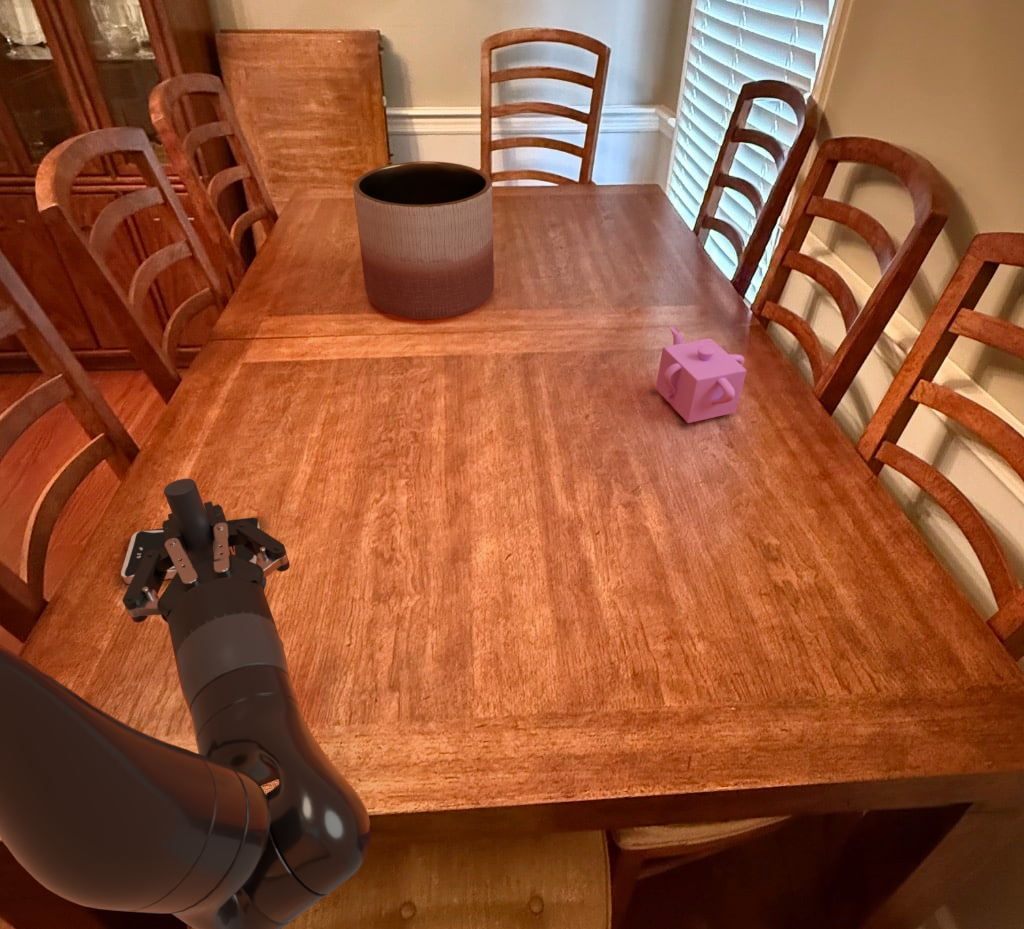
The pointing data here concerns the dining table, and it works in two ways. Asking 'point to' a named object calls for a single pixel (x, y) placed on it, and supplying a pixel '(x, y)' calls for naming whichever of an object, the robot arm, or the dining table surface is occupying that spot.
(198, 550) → the dark grey cylinder
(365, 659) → the dining table surface
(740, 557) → the dining table surface
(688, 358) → the teapot
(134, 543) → the smartphone
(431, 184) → the planter
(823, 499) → the dining table surface
